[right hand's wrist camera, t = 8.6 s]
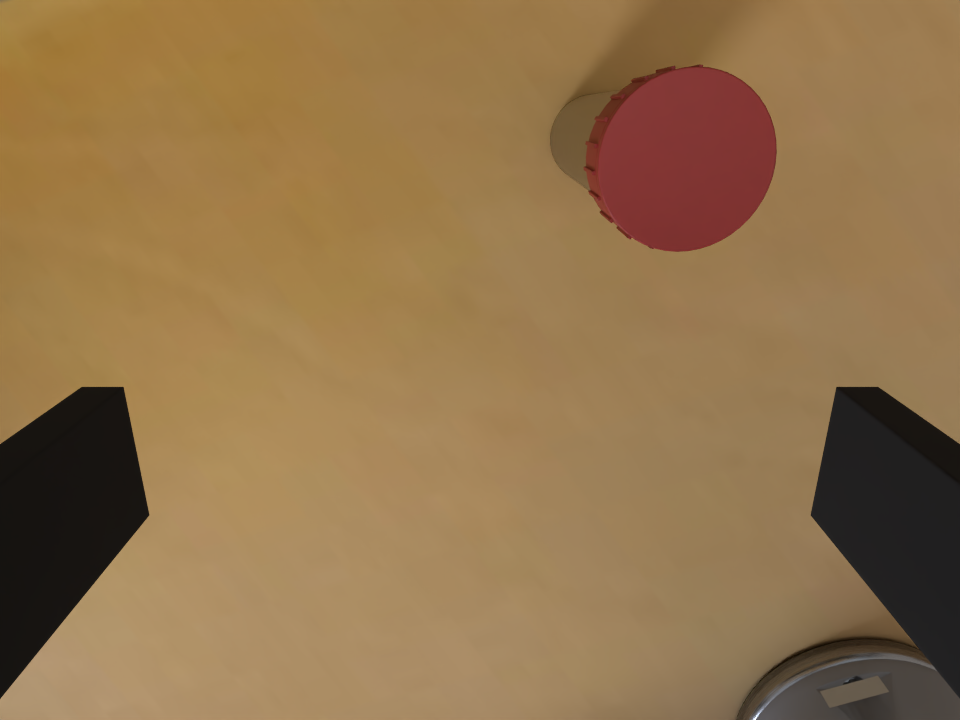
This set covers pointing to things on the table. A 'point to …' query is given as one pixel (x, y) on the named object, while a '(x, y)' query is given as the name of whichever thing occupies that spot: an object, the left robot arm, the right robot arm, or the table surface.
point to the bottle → (576, 133)
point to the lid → (681, 157)
